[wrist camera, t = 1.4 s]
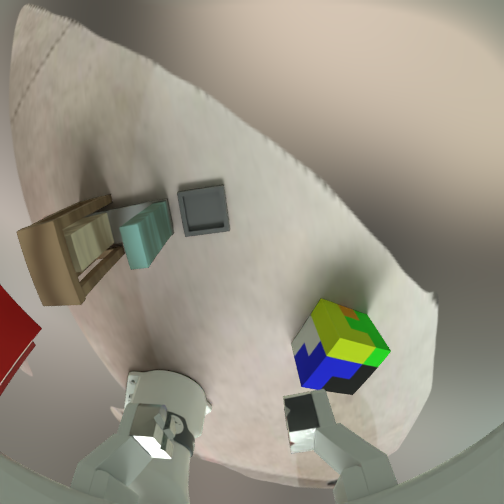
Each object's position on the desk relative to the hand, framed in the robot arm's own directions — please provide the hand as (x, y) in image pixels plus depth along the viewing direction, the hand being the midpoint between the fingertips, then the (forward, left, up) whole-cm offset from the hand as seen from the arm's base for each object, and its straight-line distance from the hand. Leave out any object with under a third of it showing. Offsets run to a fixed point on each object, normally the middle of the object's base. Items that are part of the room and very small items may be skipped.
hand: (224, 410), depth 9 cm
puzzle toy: (-8, -24, -29) cm, 39 cm away
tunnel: (-12, +16, -29) cm, 35 cm away
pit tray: (-2, +4, -29) cm, 29 cm away
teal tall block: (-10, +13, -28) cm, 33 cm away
